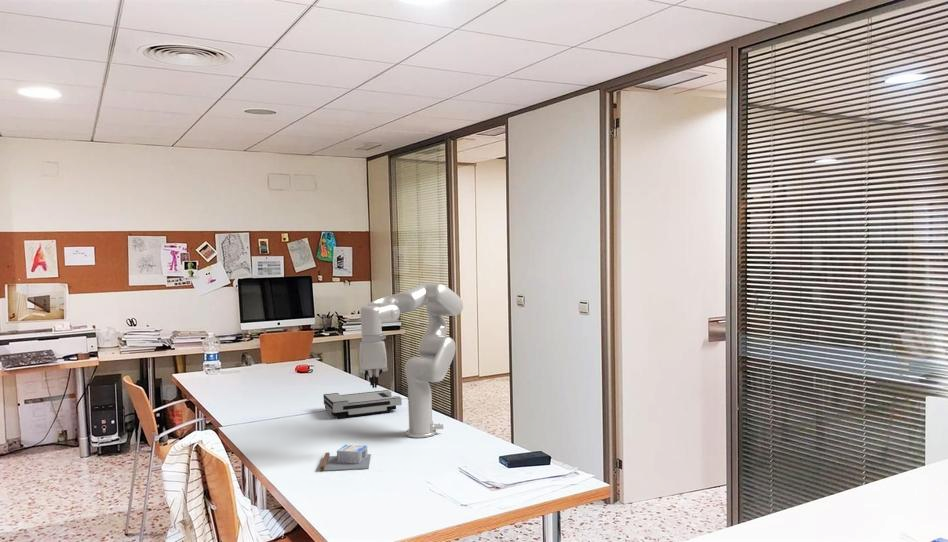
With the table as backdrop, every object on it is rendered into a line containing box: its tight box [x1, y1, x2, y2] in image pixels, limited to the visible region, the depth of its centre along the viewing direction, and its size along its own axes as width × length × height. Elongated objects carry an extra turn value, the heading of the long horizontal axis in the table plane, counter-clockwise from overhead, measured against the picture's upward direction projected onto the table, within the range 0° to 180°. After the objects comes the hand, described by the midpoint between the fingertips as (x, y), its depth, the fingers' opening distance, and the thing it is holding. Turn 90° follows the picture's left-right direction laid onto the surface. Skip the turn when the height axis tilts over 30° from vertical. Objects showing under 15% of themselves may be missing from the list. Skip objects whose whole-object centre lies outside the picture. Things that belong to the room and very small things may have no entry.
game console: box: [322, 389, 403, 420], centre depth 320 cm, size 21×32×8 cm, turn 115°
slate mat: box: [323, 453, 372, 472], centre depth 241 cm, size 16×16×1 cm
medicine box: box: [336, 444, 368, 464], centre depth 243 cm, size 8×4×9 cm
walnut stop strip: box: [319, 452, 331, 473], centre depth 241 cm, size 1×16×2 cm, turn 6°
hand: (374, 387), depth 255 cm, fingers closed
